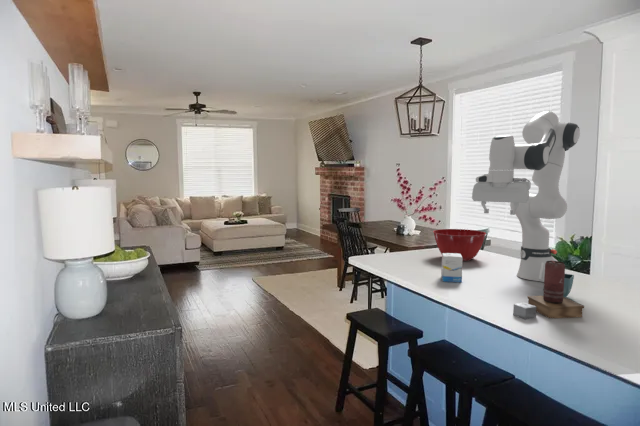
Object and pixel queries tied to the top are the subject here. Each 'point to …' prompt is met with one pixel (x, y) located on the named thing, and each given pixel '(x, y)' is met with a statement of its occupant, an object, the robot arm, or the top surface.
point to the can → (554, 282)
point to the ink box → (451, 267)
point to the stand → (556, 307)
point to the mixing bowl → (459, 241)
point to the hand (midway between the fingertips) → (499, 213)
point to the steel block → (524, 310)
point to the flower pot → (567, 284)
